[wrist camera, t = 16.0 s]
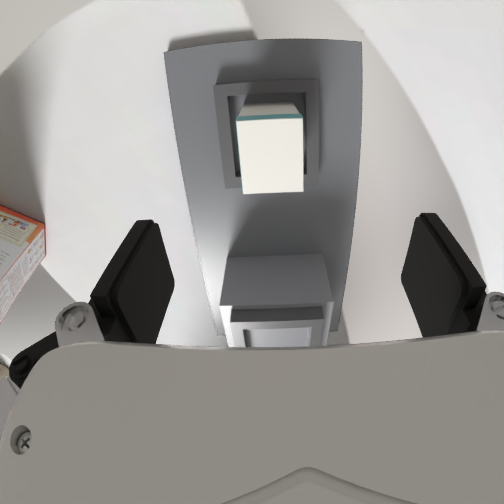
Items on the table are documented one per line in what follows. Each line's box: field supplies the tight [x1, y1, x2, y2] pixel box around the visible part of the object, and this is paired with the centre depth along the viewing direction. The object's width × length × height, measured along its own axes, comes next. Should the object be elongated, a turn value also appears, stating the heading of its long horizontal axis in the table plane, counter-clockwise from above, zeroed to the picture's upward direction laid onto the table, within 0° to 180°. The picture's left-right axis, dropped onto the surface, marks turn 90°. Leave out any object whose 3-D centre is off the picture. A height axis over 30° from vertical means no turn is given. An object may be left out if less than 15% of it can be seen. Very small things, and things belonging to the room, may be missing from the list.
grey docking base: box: [164, 39, 362, 347], centre depth 27 cm, size 34×16×10 cm, turn 4°
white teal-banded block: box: [236, 102, 304, 194], centre depth 22 cm, size 5×4×7 cm
